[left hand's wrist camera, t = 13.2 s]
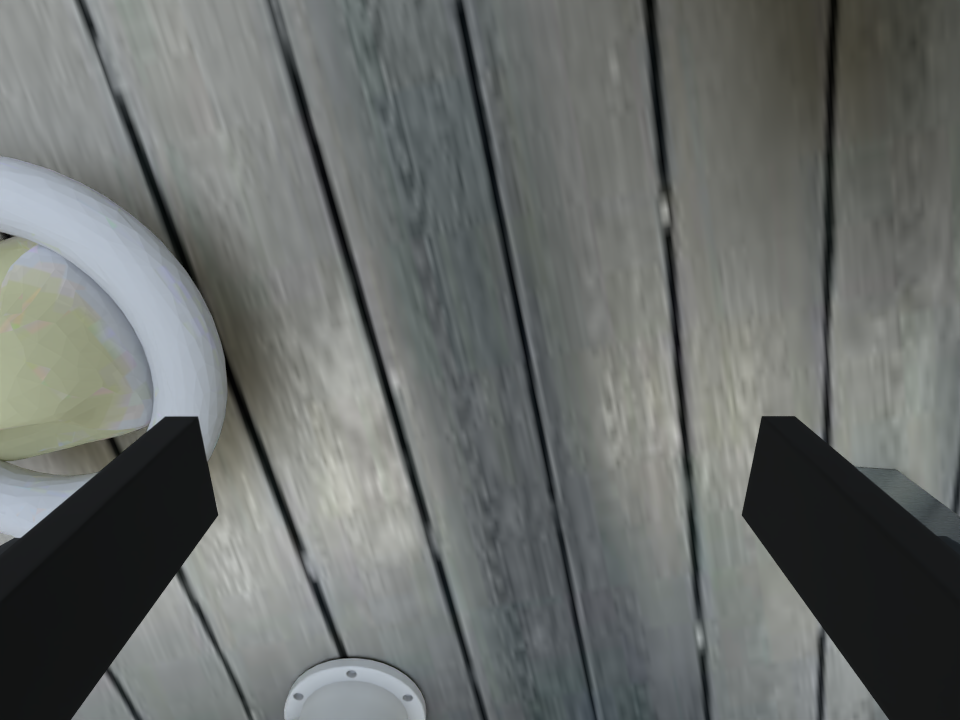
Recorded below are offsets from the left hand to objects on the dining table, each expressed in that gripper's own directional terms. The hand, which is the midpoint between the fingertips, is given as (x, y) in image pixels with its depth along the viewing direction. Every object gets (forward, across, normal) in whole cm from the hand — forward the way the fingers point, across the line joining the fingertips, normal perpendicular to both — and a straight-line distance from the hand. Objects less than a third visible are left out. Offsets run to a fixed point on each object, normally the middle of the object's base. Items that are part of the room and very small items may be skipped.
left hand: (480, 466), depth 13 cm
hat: (+24, -25, -4) cm, 35 cm away
